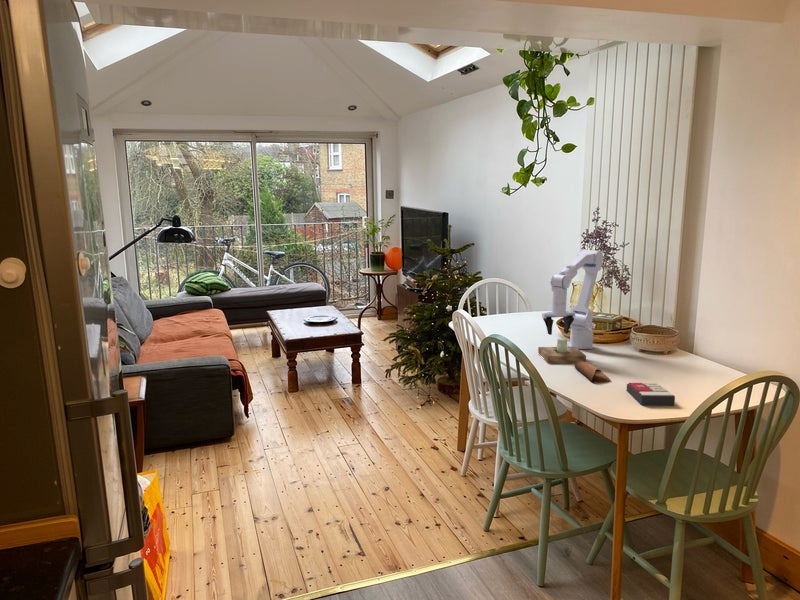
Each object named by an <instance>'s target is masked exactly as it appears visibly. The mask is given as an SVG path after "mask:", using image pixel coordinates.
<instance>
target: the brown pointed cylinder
mask: <svg viewBox="0 0 800 600" xmlns="http://www.w3.org/2000/svg"><path fill="white" fill-rule="evenodd" d="M574 369H575V370H577V371H578V372H581V373H582V374H583V375H584V376H585V377H586V378H587V379H589V380H590V381H591V382H592V383H593V384H601V383H603V384H604V383H605V384H606V383H612V380H611V379H610V378H609V376H608V375H606V374H605V373H604V372H603V371H602V369H600V368H599V367H598V366H595V365H593V364H591V363H589V362H587V361H586V362H583V361H578V362H577V363H574Z"/></svg>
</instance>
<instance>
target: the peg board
mask: <svg viewBox="0 0 800 600" xmlns="http://www.w3.org/2000/svg"><path fill="white" fill-rule="evenodd" d="M537 352H538V353H539V354H540V355H541V356H542V357H543V358H544V359H543V358H542V357H541V356H540V355H539V354H538V353H537V354H538V355H539V356H540V357H541V358H542V359H543V360H544V361H545V362H546V363H547V364H576V363H577V362H578V361H583V362H586V363H587V355H586V354H585V353H583V351H581V349H577V348H576V347H569V346H567V353H557V346H542V347H541V346H538V349H537Z"/></svg>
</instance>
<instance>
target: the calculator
mask: <svg viewBox="0 0 800 600" xmlns="http://www.w3.org/2000/svg"><path fill="white" fill-rule="evenodd" d="M626 392H627V393H628V394H629V395H630V396H631V397H632V398H633V399H635V400H636V402H637V403H638V404H639V405H640V406H642V407H675V401H676V395H674V394H673V393H671V392H670V391H669V390H668V389H666V388H665V387H663V386H662V385H661V384H659V383H657V382H628V383H626Z"/></svg>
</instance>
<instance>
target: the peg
mask: <svg viewBox="0 0 800 600" xmlns="http://www.w3.org/2000/svg"><path fill="white" fill-rule="evenodd" d="M567 344H568V339H566V338H558V339H557V344H556V347H557V353H567V347H568V345H567Z"/></svg>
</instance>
